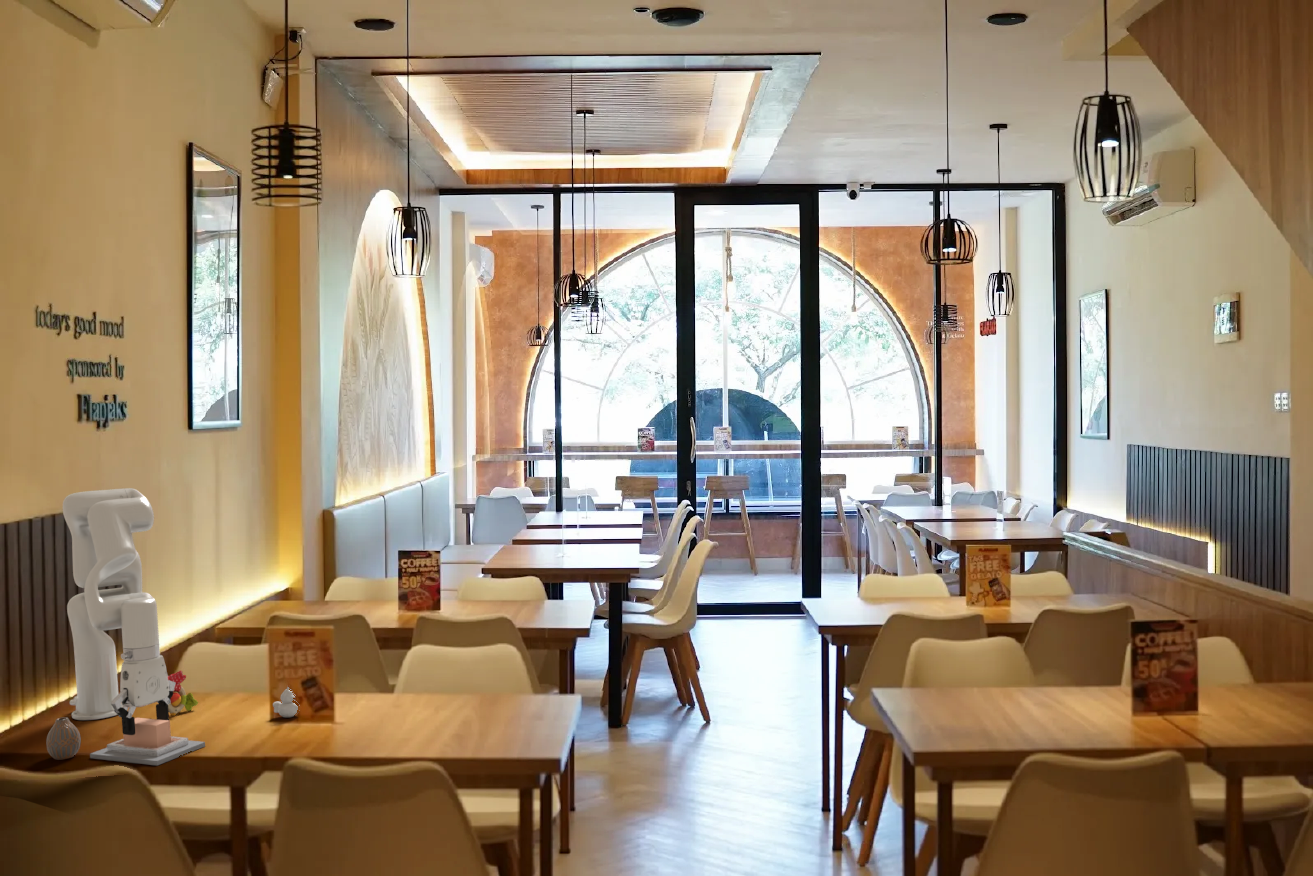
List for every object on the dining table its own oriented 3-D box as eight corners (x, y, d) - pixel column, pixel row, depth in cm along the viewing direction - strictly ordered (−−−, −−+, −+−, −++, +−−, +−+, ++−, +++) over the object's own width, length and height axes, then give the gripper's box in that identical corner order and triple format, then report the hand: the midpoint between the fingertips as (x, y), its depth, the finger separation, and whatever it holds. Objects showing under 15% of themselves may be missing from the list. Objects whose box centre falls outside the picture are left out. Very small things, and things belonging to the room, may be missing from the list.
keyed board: (90, 758, 263) (89, 747, 263) (139, 739, 276) (139, 729, 276) (157, 765, 255) (156, 754, 255) (205, 746, 268) (204, 735, 268)
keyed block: (157, 752, 262) (156, 725, 261) (124, 748, 265) (122, 722, 265) (171, 746, 265) (169, 720, 265) (138, 743, 269) (136, 717, 269)
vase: (71, 750, 270) (68, 713, 269) (87, 754, 266) (85, 716, 265) (41, 759, 264) (38, 720, 264) (57, 763, 260) (54, 724, 260)
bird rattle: (185, 724, 296) (203, 701, 304) (171, 688, 291) (190, 666, 299) (163, 723, 297) (182, 700, 305) (149, 688, 292) (169, 666, 300)
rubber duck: (295, 719, 287) (293, 687, 287) (269, 720, 288) (267, 688, 287) (303, 713, 292) (301, 681, 292) (278, 714, 293) (276, 682, 293)
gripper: (122, 663, 255) (127, 741, 256) (183, 645, 271) (187, 718, 272) (97, 661, 258) (102, 738, 259) (159, 643, 274) (163, 716, 275)
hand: (146, 728), depth 265 cm, fingers open, 9 cm apart
